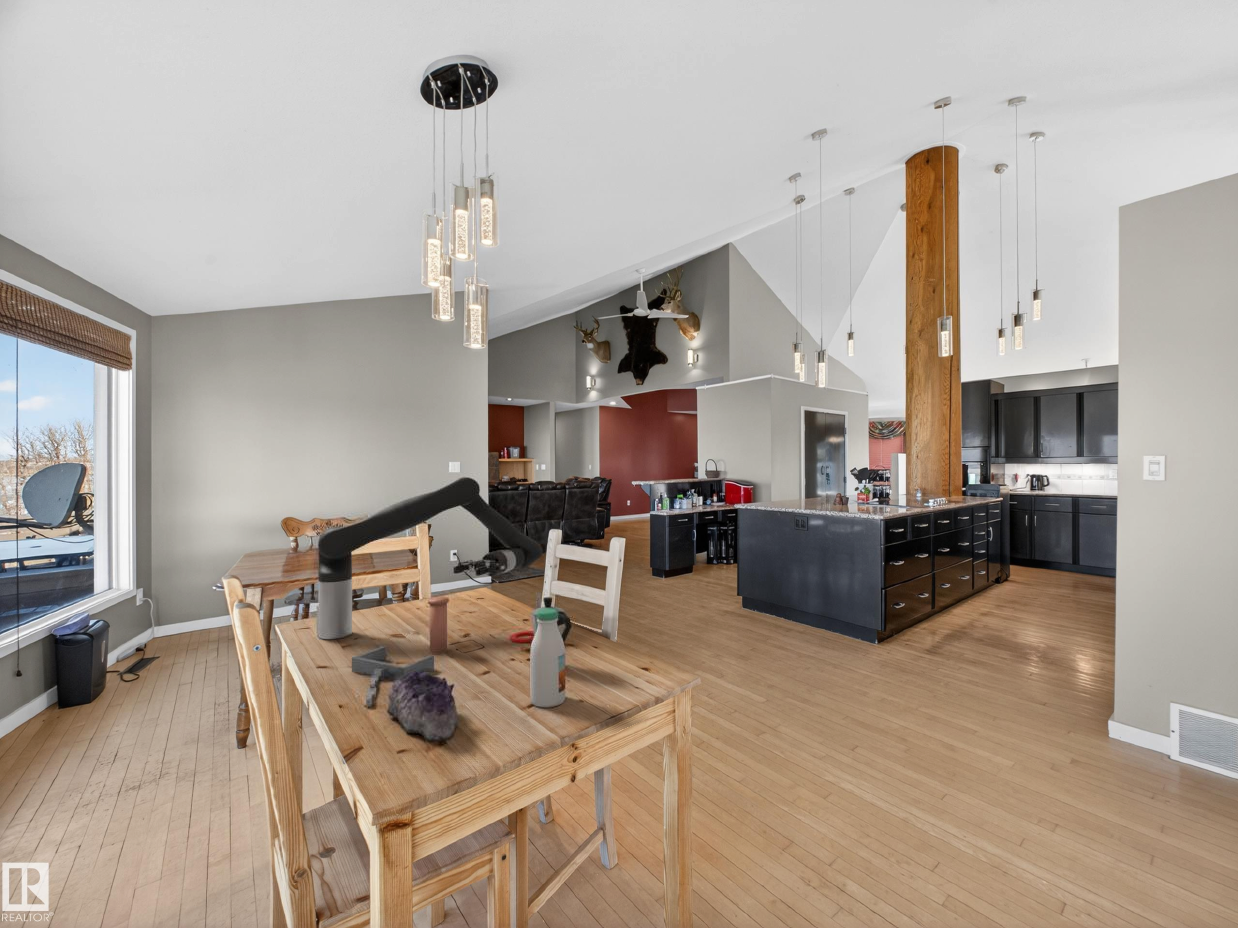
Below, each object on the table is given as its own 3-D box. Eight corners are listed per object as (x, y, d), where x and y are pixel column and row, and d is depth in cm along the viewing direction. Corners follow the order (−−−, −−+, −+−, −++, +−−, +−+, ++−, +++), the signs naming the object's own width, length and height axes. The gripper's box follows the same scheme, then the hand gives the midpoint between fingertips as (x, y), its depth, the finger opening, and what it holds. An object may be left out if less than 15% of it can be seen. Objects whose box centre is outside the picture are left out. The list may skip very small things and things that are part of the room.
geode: (480, 729, 109) (475, 682, 108) (424, 758, 101) (417, 707, 100) (435, 694, 124) (430, 652, 123) (383, 717, 116) (377, 672, 115)
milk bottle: (550, 711, 116) (550, 617, 116) (522, 703, 120) (522, 612, 120) (572, 698, 123) (571, 609, 123) (545, 691, 127) (545, 604, 127)
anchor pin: (423, 652, 153) (423, 600, 153) (438, 646, 158) (438, 596, 158) (438, 655, 151) (438, 602, 151) (453, 649, 156) (453, 598, 156)
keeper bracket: (347, 673, 138) (347, 659, 139) (383, 659, 149) (383, 646, 149) (399, 684, 131) (399, 670, 131) (434, 669, 141) (434, 655, 141)
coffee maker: (519, 665, 143) (519, 596, 143) (545, 657, 149) (545, 591, 149) (556, 680, 133) (556, 606, 133) (583, 670, 139) (582, 599, 139)
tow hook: (506, 644, 162) (540, 643, 161) (504, 597, 162) (537, 596, 161) (514, 635, 171) (546, 634, 170) (512, 590, 171) (543, 589, 170)
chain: (364, 707, 118) (364, 699, 118) (371, 679, 134) (371, 672, 134) (373, 706, 119) (373, 698, 119) (379, 678, 135) (379, 671, 135)
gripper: (481, 549, 183) (446, 557, 168) (516, 552, 176) (484, 560, 162) (481, 572, 183) (447, 581, 168) (517, 575, 176) (484, 585, 162)
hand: (465, 571), depth 165 cm, fingers open, 8 cm apart
